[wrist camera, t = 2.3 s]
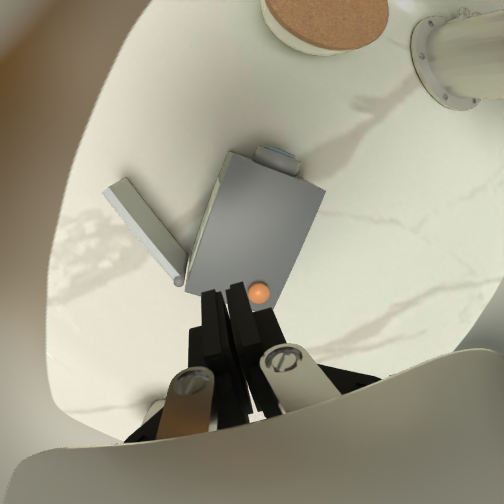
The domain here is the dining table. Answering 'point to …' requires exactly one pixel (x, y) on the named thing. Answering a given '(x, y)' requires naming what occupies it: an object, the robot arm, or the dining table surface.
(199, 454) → the robot arm
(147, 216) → the side door
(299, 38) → the lidded jar
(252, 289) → the camera body
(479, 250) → the dining table surface
